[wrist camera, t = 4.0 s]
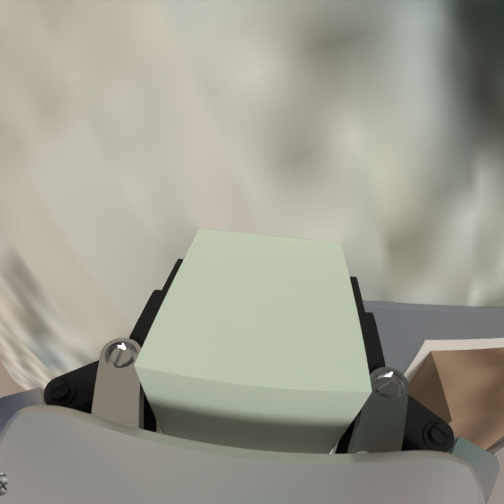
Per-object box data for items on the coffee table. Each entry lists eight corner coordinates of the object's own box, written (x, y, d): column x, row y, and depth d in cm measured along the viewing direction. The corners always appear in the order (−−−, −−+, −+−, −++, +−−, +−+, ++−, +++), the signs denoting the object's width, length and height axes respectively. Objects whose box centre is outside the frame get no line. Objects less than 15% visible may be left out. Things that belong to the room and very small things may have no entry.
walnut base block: (519, 345, 12) (543, 398, 9) (464, 410, 16) (476, 456, 13) (430, 350, 13) (451, 420, 9) (381, 419, 16) (387, 474, 13)
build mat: (576, 308, 11) (579, 312, 11) (493, 413, 17) (494, 417, 17) (335, 298, 12) (336, 306, 12) (291, 428, 18) (291, 434, 18)
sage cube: (340, 242, 11) (372, 391, 6) (316, 339, 13) (319, 465, 8) (199, 229, 11) (134, 365, 6) (204, 327, 14) (170, 448, 9)
